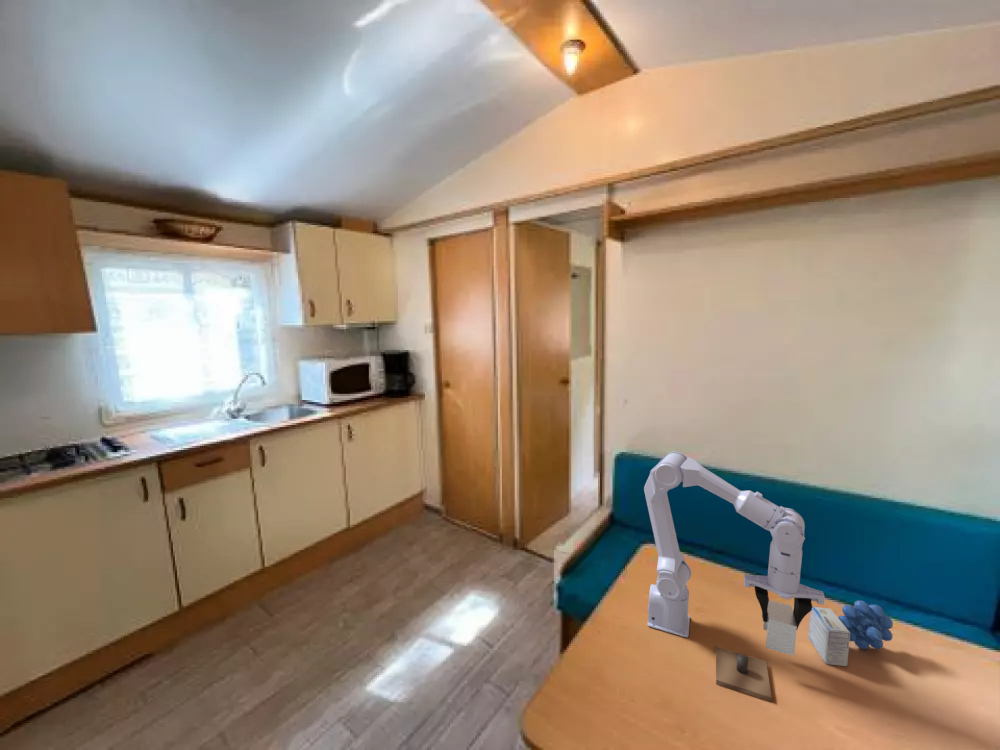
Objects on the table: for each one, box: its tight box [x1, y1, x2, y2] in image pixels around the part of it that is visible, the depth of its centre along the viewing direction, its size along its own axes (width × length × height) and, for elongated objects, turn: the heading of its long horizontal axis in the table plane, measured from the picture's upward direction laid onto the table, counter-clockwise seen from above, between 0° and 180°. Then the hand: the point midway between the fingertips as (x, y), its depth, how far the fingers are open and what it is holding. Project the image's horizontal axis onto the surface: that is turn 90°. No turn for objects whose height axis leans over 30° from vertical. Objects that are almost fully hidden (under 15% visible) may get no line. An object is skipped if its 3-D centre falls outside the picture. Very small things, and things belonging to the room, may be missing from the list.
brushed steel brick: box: [762, 599, 798, 657], centre depth 94 cm, size 5×7×7 cm
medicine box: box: [807, 606, 851, 667], centre depth 98 cm, size 8×4×9 cm, turn 168°
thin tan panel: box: [715, 645, 772, 703], centre depth 93 cm, size 10×10×4 cm
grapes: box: [837, 600, 894, 650], centre depth 98 cm, size 12×7×12 cm, turn 83°
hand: (779, 622), depth 94 cm, fingers closed on brushed steel brick, 5 cm apart
